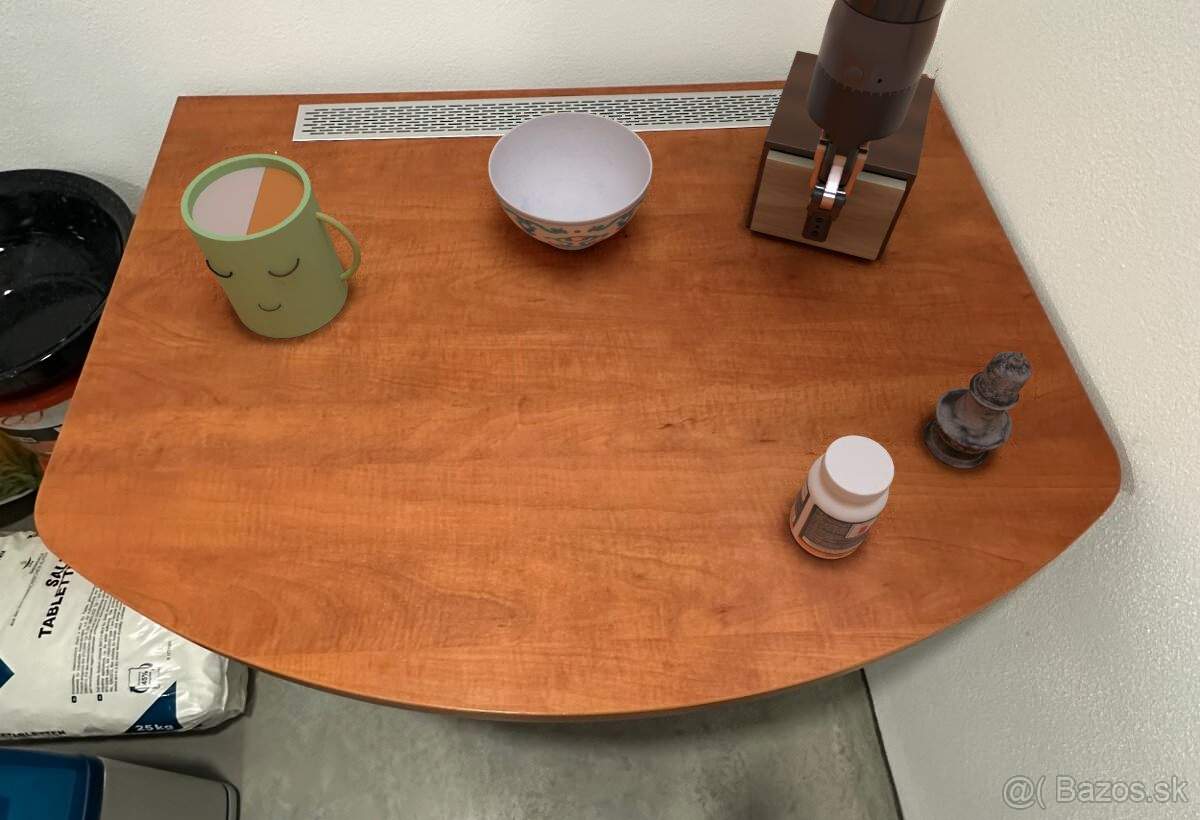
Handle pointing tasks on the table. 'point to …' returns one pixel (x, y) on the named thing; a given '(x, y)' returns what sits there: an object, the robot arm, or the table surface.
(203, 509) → the table surface
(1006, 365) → the chess piece
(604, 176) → the chinaware
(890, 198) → the drawer
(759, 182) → the cabinet
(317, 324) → the mug
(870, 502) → the pill bottle
